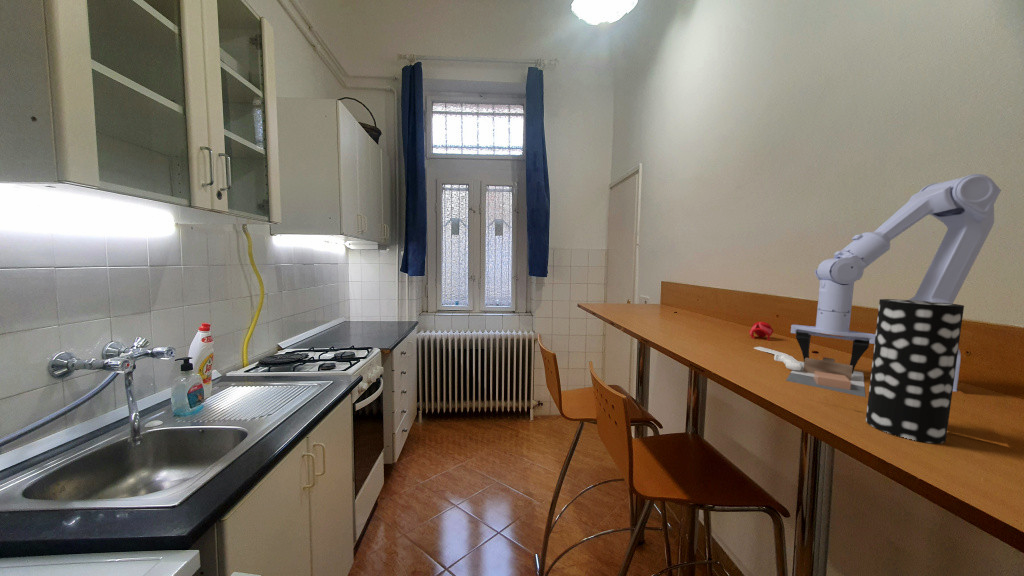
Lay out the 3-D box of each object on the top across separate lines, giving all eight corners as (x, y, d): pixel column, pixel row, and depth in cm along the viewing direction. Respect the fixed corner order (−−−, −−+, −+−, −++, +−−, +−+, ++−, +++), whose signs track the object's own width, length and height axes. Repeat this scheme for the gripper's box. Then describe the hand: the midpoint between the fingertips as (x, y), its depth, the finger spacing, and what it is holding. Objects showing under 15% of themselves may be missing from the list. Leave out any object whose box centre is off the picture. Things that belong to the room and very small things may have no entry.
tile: (844, 382, 74) (845, 375, 74) (850, 389, 70) (850, 382, 70) (813, 377, 77) (814, 370, 77) (817, 384, 73) (818, 376, 73)
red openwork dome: (775, 332, 114) (778, 321, 117) (755, 324, 116) (758, 314, 120) (764, 348, 119) (767, 337, 122) (745, 340, 122) (748, 329, 125)
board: (862, 374, 82) (863, 372, 82) (865, 399, 67) (865, 396, 67) (797, 362, 91) (797, 360, 91) (785, 382, 75) (786, 380, 75)
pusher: (851, 374, 80) (852, 361, 80) (851, 380, 76) (852, 367, 76) (805, 366, 86) (807, 354, 85) (803, 371, 81) (804, 359, 81)
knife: (746, 341, 110) (777, 343, 107) (746, 346, 110) (777, 349, 107) (762, 360, 84) (803, 364, 80) (762, 367, 84) (803, 371, 80)
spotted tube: (938, 429, 55) (955, 303, 53) (952, 450, 49) (972, 307, 47) (863, 413, 60) (876, 298, 59) (867, 429, 54) (882, 301, 52)
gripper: (878, 313, 78) (871, 372, 79) (795, 305, 88) (790, 358, 89) (880, 316, 73) (872, 379, 74) (791, 308, 83) (786, 363, 84)
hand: (827, 368), depth 81 cm, fingers open, 7 cm apart
